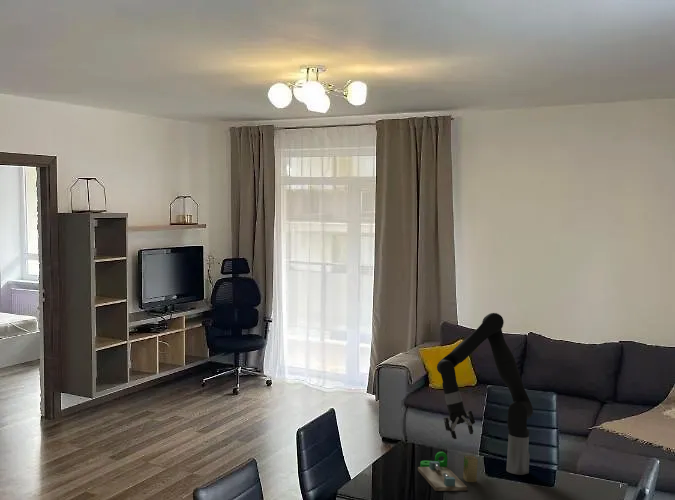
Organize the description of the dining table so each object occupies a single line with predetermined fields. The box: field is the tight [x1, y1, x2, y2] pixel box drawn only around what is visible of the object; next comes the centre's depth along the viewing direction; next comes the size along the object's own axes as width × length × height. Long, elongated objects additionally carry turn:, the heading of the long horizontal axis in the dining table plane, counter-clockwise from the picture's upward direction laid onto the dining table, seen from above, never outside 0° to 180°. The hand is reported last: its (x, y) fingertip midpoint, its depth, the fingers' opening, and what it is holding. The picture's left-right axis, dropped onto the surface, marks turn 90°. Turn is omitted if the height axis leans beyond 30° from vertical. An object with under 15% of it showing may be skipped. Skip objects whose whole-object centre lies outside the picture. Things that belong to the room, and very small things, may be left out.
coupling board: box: [417, 460, 468, 492], centre depth 298 cm, size 14×25×4 cm, turn 10°
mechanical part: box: [419, 451, 448, 467], centre depth 315 cm, size 12×6×8 cm, turn 87°
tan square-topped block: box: [462, 455, 479, 483], centre depth 300 cm, size 4×4×10 cm
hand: (463, 436), depth 315 cm, fingers open, 8 cm apart
